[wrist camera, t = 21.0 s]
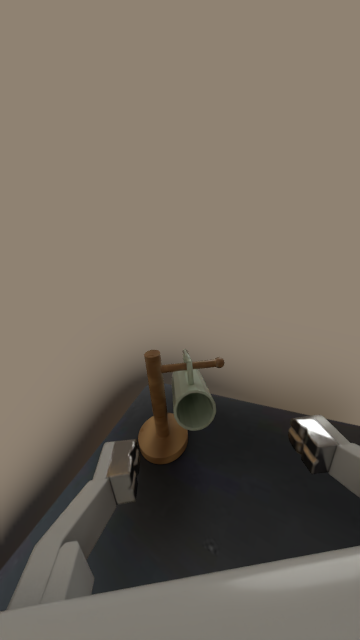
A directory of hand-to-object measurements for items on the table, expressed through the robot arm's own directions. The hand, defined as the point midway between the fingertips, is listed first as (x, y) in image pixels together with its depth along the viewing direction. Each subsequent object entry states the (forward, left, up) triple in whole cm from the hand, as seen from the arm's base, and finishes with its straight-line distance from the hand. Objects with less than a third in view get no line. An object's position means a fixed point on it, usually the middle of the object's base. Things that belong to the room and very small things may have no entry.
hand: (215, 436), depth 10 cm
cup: (-1, +25, -13) cm, 28 cm away
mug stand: (-3, +18, -23) cm, 30 cm away
